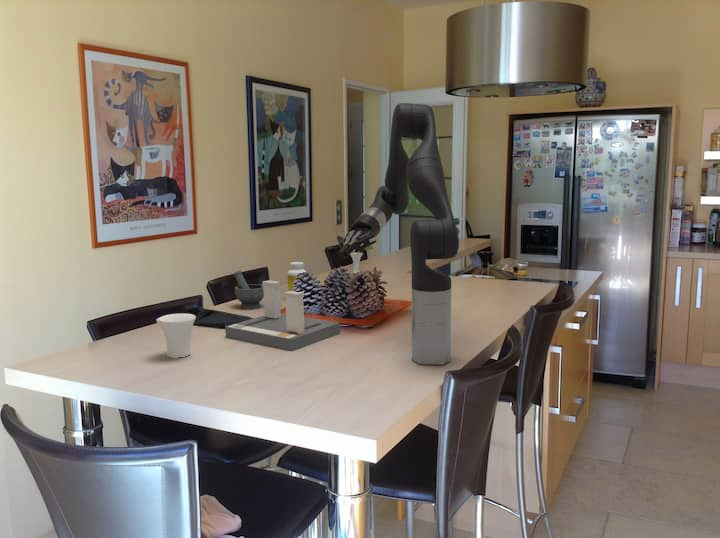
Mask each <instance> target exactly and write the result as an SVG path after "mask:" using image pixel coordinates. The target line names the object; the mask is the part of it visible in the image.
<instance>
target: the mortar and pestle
mask: <svg viewBox="0 0 720 538" xmlns="http://www.w3.org/2000/svg"><path fill="white" fill-rule="evenodd" d="M233 277H235V279H236V282H237V284H238V285H237V286H234V292H235V293H234V294H235V297H236V298H237V300H238V302H240V303H241V305H240V309H241V308H242V310H256V309H260V308H261V304H260V303H261V302H262V300H264V288H263V286H262V284H256V283H253V284H252V283H251V284H248V283H247V281H246V279H245V278H244V275H243V271H242V270H237V271H235V272H233Z"/></svg>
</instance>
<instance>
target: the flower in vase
mask: <svg viewBox="0 0 720 538" xmlns="http://www.w3.org/2000/svg"><path fill="white" fill-rule="evenodd" d="M374 249H375V248H374V246H373V245H370V246H368V247H366V248H364V250H365V251H370V250H374ZM360 251H361V250H359V251H358V250H357V252H351V253H350V255H349V256H350V257H351V258H352V263H353V271H352V274H353V273H357V272H360V273H361V270H360V264H361V258H362V256H363V255H364V253H363V252H360Z"/></svg>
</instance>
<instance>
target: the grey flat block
mask: <svg viewBox="0 0 720 538" xmlns="http://www.w3.org/2000/svg"><path fill="white" fill-rule="evenodd" d="M280 313H281V312H280ZM340 324H341V323H340V322H336V321H331V320H325V319H321V318H320V319H318V318H314V317H313V318H311V317H306V316H304V331H302V332H299V333H296V332H291V331H287V326H286V313H281V317H278V318H269V317H265V314H264V315H261V316H258V317H254V319H250V320H247V321H243V322H240V323H236V324H233V325H229V326H226V327H225V328H224V330H225V338H229V339H231V340H232V339H233V340H238V341H242V342H246V343H251V344H257V345H260V346H267V347H272V348H276V349H281V350H286V351H289V352H290V351H293V352H294V351H295V350H299V349H301V348H305V347H306V346H309V345H311V344H315V343H318V342H320V341H323V340H326V339H328V338H331V337H333V336H337V335H340V334H341V325H340Z"/></svg>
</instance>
